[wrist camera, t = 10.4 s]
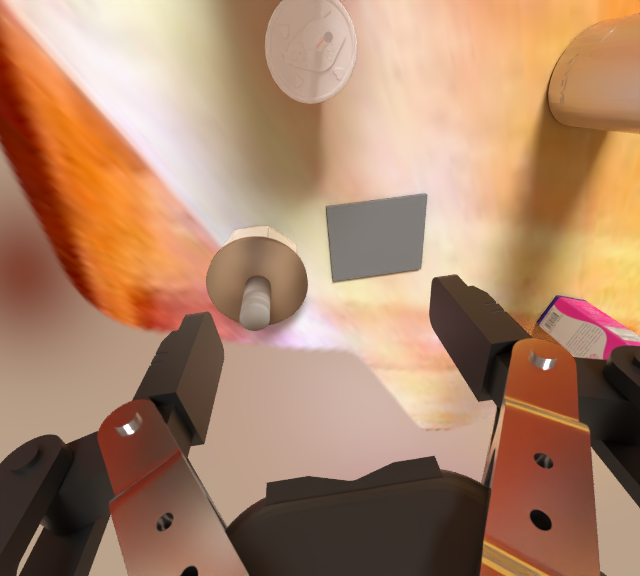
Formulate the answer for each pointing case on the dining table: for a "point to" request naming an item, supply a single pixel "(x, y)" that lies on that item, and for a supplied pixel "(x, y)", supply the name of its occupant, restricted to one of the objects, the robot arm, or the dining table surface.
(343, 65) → the smoothie
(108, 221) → the dining table surface
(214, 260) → the lid
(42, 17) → the dining table surface
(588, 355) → the supplement box
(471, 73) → the dining table surface
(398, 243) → the mat
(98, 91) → the dining table surface
